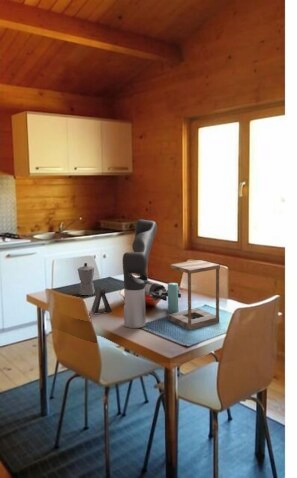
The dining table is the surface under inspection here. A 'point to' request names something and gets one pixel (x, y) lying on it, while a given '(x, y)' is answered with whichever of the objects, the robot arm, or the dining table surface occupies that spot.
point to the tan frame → (185, 316)
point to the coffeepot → (86, 280)
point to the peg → (173, 298)
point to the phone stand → (97, 302)
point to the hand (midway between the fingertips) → (173, 297)
